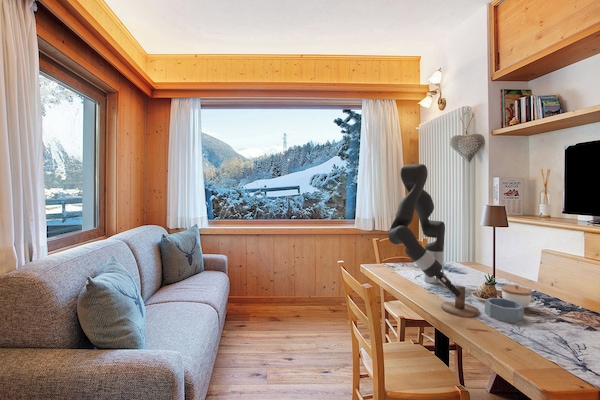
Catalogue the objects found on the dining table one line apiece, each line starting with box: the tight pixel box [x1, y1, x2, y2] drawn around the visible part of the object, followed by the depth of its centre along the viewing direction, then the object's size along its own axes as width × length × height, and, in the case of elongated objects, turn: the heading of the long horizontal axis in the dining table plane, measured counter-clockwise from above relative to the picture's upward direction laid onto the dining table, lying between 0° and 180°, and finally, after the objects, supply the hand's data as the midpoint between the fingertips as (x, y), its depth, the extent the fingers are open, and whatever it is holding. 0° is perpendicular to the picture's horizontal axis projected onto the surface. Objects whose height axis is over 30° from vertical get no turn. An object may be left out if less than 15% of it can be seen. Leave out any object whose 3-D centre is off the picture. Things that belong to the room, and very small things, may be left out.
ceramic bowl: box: [484, 297, 525, 323], centre depth 125 cm, size 12×12×5 cm
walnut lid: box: [440, 285, 480, 318], centre depth 130 cm, size 14×14×10 cm
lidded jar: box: [501, 284, 533, 309], centre depth 135 cm, size 11×11×9 cm
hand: (455, 292), depth 130 cm, fingers open, 8 cm apart
